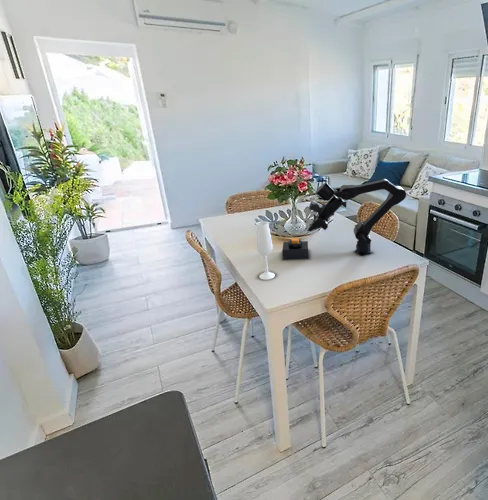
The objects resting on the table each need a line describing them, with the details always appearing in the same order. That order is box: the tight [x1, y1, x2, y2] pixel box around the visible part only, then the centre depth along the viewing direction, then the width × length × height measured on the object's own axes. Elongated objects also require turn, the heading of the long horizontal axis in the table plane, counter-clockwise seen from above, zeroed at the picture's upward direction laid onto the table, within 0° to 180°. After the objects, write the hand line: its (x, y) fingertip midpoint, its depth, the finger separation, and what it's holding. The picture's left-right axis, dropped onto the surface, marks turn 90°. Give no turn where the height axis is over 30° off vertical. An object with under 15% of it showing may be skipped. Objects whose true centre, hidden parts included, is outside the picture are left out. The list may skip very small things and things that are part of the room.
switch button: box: [290, 237, 300, 244], centre depth 167 cm, size 4×4×2 cm
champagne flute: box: [255, 220, 276, 280], centre depth 145 cm, size 7×7×24 cm
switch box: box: [281, 239, 310, 261], centre depth 169 cm, size 12×10×7 cm
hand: (308, 230), depth 166 cm, fingers closed
